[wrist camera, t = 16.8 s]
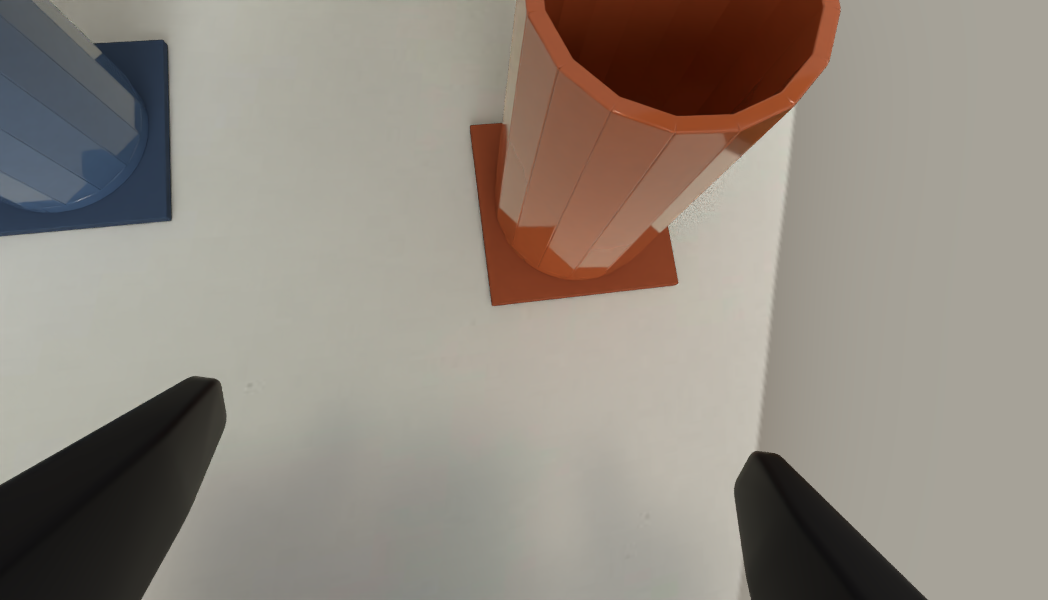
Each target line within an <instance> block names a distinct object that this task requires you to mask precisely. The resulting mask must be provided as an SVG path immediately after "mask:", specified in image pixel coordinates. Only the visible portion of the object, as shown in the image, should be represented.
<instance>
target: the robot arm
mask: <svg viewBox="0 0 1048 600" xmlns="http://www.w3.org/2000/svg"><path fill="white" fill-rule="evenodd" d="M225 424H226V409H225V404H224V398H223V392H222V387H221V383H220V382H219V381H218V380H217V379H214V378H206V377H198V376H192V377H189V378H187V379H185V380H183V381H182V382H180V383H178V384H176V385H175V386H173V387H171V388H169V389H168V390H166V391H164V392H162V393H161V394H159V395H157V396H155V397H154V398H152V399H150V400H148V401H147V402H145V403H143V404H141V405H140V406H138V407H136V408H134V409H133V410H131V411H129V412H127V413H126V414H124V415H122V416H120V417H119V418H117V419H115V420H113V421H112V422H110V423H108V424H106V425H104V426H103V427H101V428H99V429H97V430H96V431H94V432H92V433H90V434H89V435H87V436H85V437H83V438H82V439H80V440H78V441H76V442H75V443H73V444H71V445H69V446H68V447H66V448H64V449H62V450H61V451H59V452H57V453H55V454H54V455H52V456H50V457H48V458H47V459H45V460H43V461H41V462H40V463H38V464H36V465H34V466H33V467H31V468H29V469H27V470H26V471H24V472H22V473H20V474H19V475H17V476H15V477H13V478H12V479H10V480H8V481H6V482H5V483H3V484H1V485H0V600H141V599H142V597H143V595H144V593H145V592H146V590H147V588H148V586H149V585H150V583H151V581H152V579H153V577H154V576H155V574H156V572H157V570H158V568H159V567H160V565H161V563H162V561H163V559H164V558H165V556H166V554H167V552H168V550H169V549H170V547H171V545H172V543H173V541H174V540H175V538H176V536H177V534H178V532H179V531H180V529H181V527H182V525H183V523H184V521H185V519H186V517H187V515H188V513H189V511H190V509H191V507H192V504H193V502H194V500H195V498H196V495H197V493H198V490H199V488H200V486H201V483H202V481H203V478H204V476H205V474H206V471H207V469H208V467H209V464H210V462H211V459H212V457H213V455H214V452H215V450H216V447H217V445H218V443H219V440H220V438H221V435H222V433H223V431H224V428H225ZM734 497H735V504H736V511H737V518H738V525H739V532H740V539H741V546H742V553H743V560H744V567H745V573H746V579H747V583H748V588H749V592H750V597H751V600H927V599H926V598H925V597H924V596H923V595H922V594H921V593H920V592H919V591H918V590H917V589H916V588H915V587H914V586H913V585H912V584H911V583H910V582H909V581H908V580H907V579H906V578H905V577H904V576H903V575H902V574H901V573H900V572H899V571H897V569H895V567H894V566H893V565H891V563H889V562H888V561H887V560H886V559H885V558H884V557H883V556H882V555H881V554H880V553H879V552H878V551H877V550H876V549H875V548H874V547H873V546H872V545H871V544H870V543H869V542H868V541H867V540H866V539H865V538H864V537H863V536H862V535H861V534H860V533H859V532H858V531H857V530H856V529H855V528H854V527H853V526H852V525H851V524H850V523H849V522H848V521H846V520H845V518H843V517H842V516H841V515H840V514H839V513H838V512H837V511H836V510H835V509H834V508H833V507H832V506H831V505H830V504H829V503H828V502H827V501H826V500H825V499H824V498H823V497H822V496H821V495H820V494H819V493H818V492H817V491H816V490H815V489H814V488H813V487H812V486H811V485H810V484H809V483H808V482H807V481H806V480H805V479H804V478H803V477H802V476H800V475H799V474H798V473H797V472H796V471H795V470H794V469H793V468H792V467H791V466H790V465H789V464H788V463H787V462H786V461H785V460H784V459H783V458H782V457H781V456H780V455H778V454H775V453H769V452H761V451H755V452H753V453H752V454H751V455H750V456H749V458H748V460H747V462H746V463H745V465H744V467H743V469H742V471H741V472H740V474H739V476H738V478H737V480H736V482H735V487H734Z"/></svg>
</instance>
